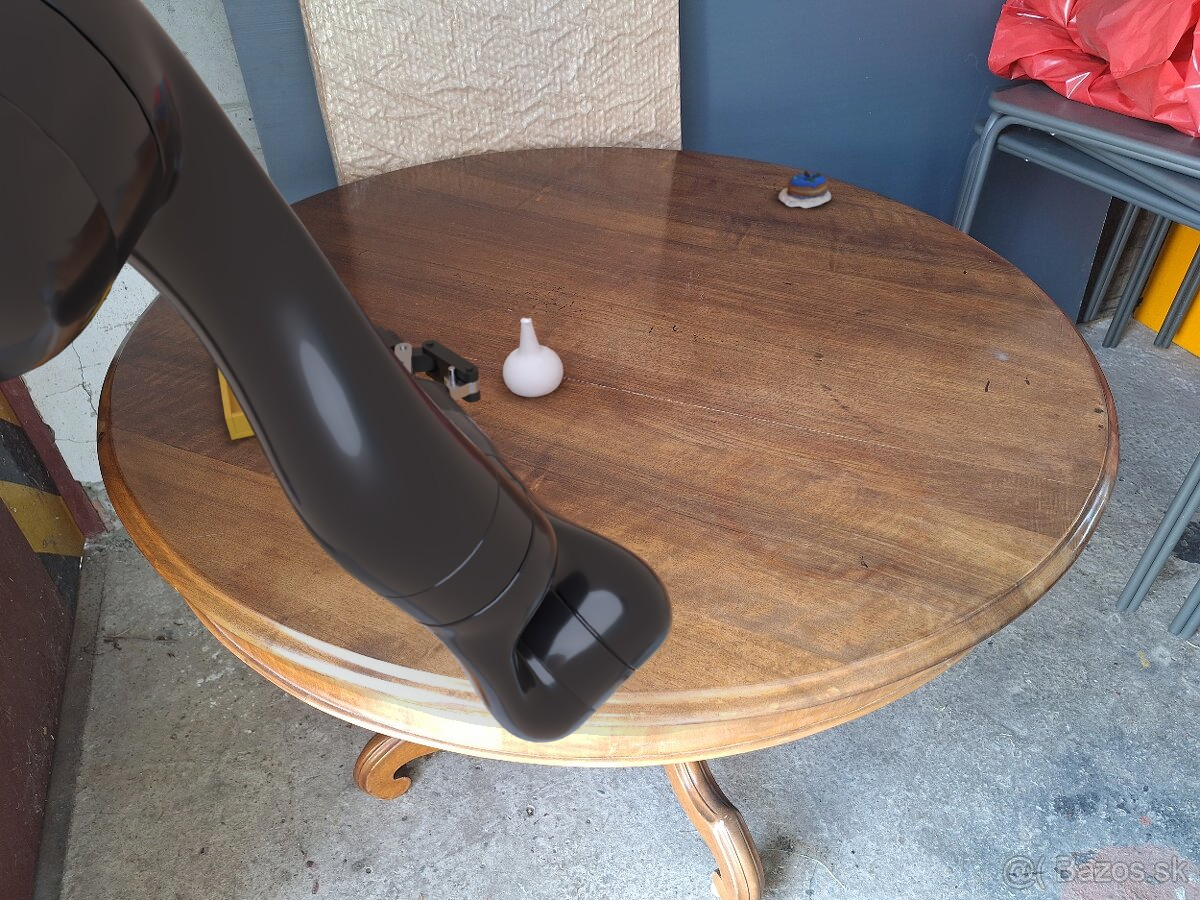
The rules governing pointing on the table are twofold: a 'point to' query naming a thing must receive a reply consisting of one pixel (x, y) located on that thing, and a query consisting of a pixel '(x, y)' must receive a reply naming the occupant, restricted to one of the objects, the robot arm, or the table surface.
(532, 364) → the garlic bulb
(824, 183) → the dessert
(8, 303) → the robot arm
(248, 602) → the table surface
